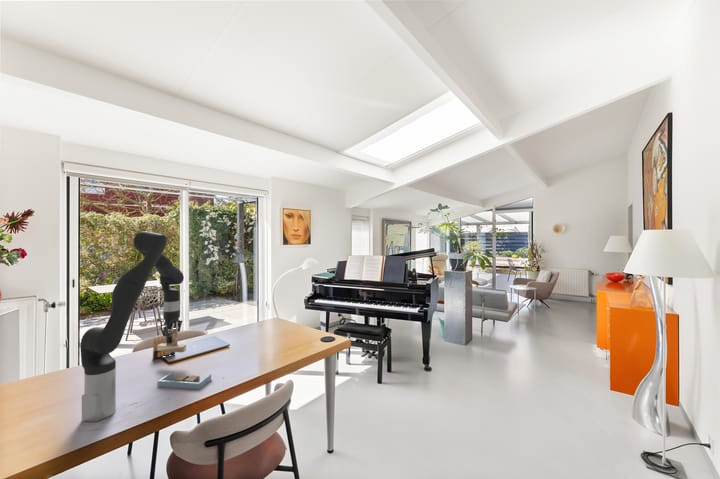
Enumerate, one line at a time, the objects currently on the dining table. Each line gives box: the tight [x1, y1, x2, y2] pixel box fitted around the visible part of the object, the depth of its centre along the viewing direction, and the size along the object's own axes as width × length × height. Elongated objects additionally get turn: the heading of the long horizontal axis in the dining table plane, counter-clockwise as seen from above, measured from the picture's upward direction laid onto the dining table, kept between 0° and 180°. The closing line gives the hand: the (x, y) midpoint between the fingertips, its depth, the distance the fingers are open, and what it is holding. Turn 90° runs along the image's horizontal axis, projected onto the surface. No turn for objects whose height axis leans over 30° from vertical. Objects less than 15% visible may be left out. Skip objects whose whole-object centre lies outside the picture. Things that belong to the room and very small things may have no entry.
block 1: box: [173, 374, 190, 382], centre depth 146 cm, size 5×4×2 cm
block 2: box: [184, 374, 201, 382], centre depth 146 cm, size 5×4×2 cm
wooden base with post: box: [157, 331, 187, 353], centre depth 163 cm, size 3×14×10 cm, turn 84°
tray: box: [157, 371, 212, 390], centre depth 146 cm, size 10×20×2 cm, turn 84°
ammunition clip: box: [152, 336, 176, 361], centre depth 175 cm, size 11×2×12 cm, turn 139°
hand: (171, 342), depth 163 cm, fingers closed on wooden base with post, 3 cm apart
